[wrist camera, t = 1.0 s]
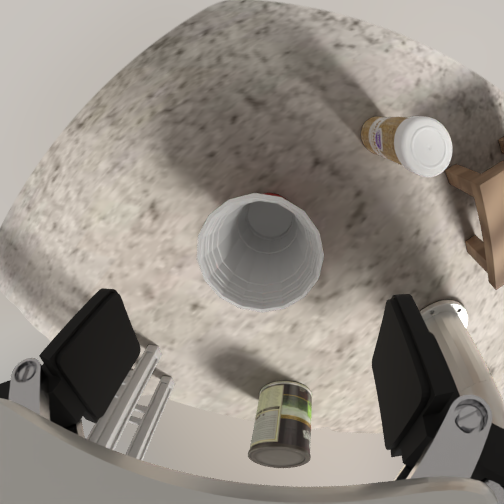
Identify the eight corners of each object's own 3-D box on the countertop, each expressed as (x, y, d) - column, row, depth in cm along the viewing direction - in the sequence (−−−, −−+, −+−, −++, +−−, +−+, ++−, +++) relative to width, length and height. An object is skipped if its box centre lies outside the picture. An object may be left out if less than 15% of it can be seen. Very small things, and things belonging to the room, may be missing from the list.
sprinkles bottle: (354, 122, 28) (393, 123, 16) (389, 112, 26) (445, 110, 14) (367, 159, 29) (411, 185, 17) (401, 149, 28) (459, 170, 16)
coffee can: (312, 379, 46) (311, 447, 33) (311, 408, 50) (309, 468, 38) (255, 379, 48) (243, 445, 35) (261, 408, 52) (252, 466, 40)
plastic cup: (329, 189, 32) (346, 225, 21) (296, 265, 36) (294, 326, 26) (241, 157, 31) (212, 176, 21) (216, 237, 36) (184, 288, 26)
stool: (100, 329, 49) (8, 463, 18) (165, 338, 46) (77, 514, 15) (126, 379, 56) (63, 500, 25) (186, 391, 53) (131, 535, 22)
